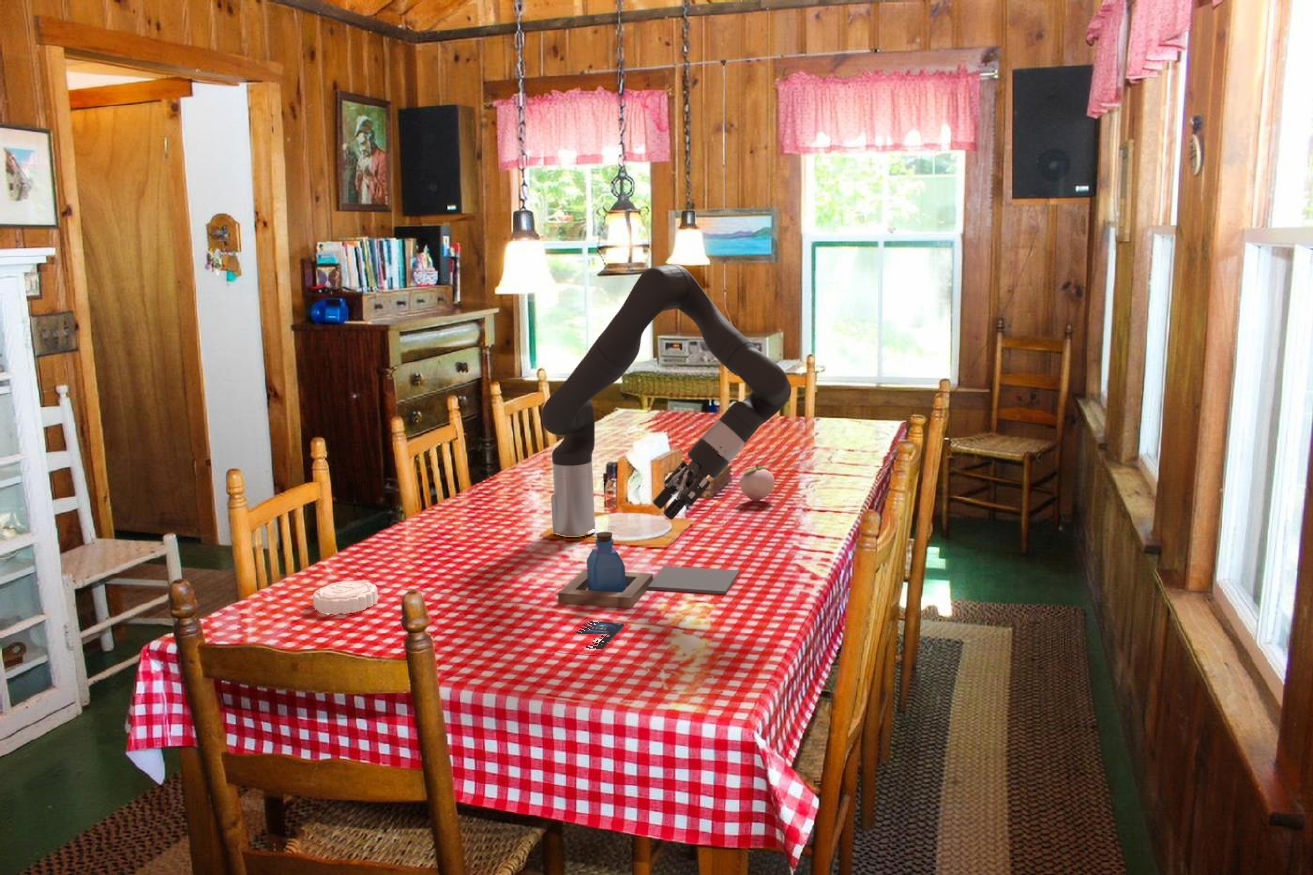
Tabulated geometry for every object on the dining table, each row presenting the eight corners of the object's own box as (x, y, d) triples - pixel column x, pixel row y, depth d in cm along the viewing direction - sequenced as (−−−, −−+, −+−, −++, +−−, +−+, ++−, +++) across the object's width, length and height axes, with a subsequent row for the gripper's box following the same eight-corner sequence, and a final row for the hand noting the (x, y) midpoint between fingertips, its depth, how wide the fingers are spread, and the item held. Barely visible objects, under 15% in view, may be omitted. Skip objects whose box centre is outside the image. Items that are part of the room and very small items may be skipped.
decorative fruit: (762, 508, 268) (762, 469, 266) (735, 504, 273) (734, 466, 271) (781, 500, 275) (781, 462, 273) (754, 496, 280) (754, 459, 278)
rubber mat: (646, 589, 210) (646, 586, 210) (664, 568, 222) (664, 566, 222) (725, 594, 206) (725, 591, 206) (739, 573, 218) (739, 570, 218)
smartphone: (554, 651, 180) (586, 620, 194) (554, 655, 180) (586, 623, 194) (596, 655, 178) (626, 623, 192) (597, 658, 178) (626, 626, 192)
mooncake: (354, 591, 216) (352, 574, 215) (390, 603, 208) (389, 585, 207) (301, 608, 207) (299, 591, 206) (337, 621, 199) (336, 603, 198)
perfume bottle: (594, 600, 205) (592, 540, 203) (588, 590, 211) (585, 531, 209) (626, 596, 207) (623, 536, 204) (618, 586, 213) (616, 528, 210)
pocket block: (558, 602, 204) (557, 593, 204) (584, 578, 218) (584, 569, 217) (631, 608, 200) (630, 597, 200) (653, 583, 214) (652, 573, 213)
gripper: (693, 430, 215) (639, 491, 214) (713, 443, 201) (656, 508, 201) (718, 454, 217) (666, 514, 217) (741, 468, 203) (684, 532, 203)
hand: (661, 511), depth 209 cm, fingers open, 8 cm apart
